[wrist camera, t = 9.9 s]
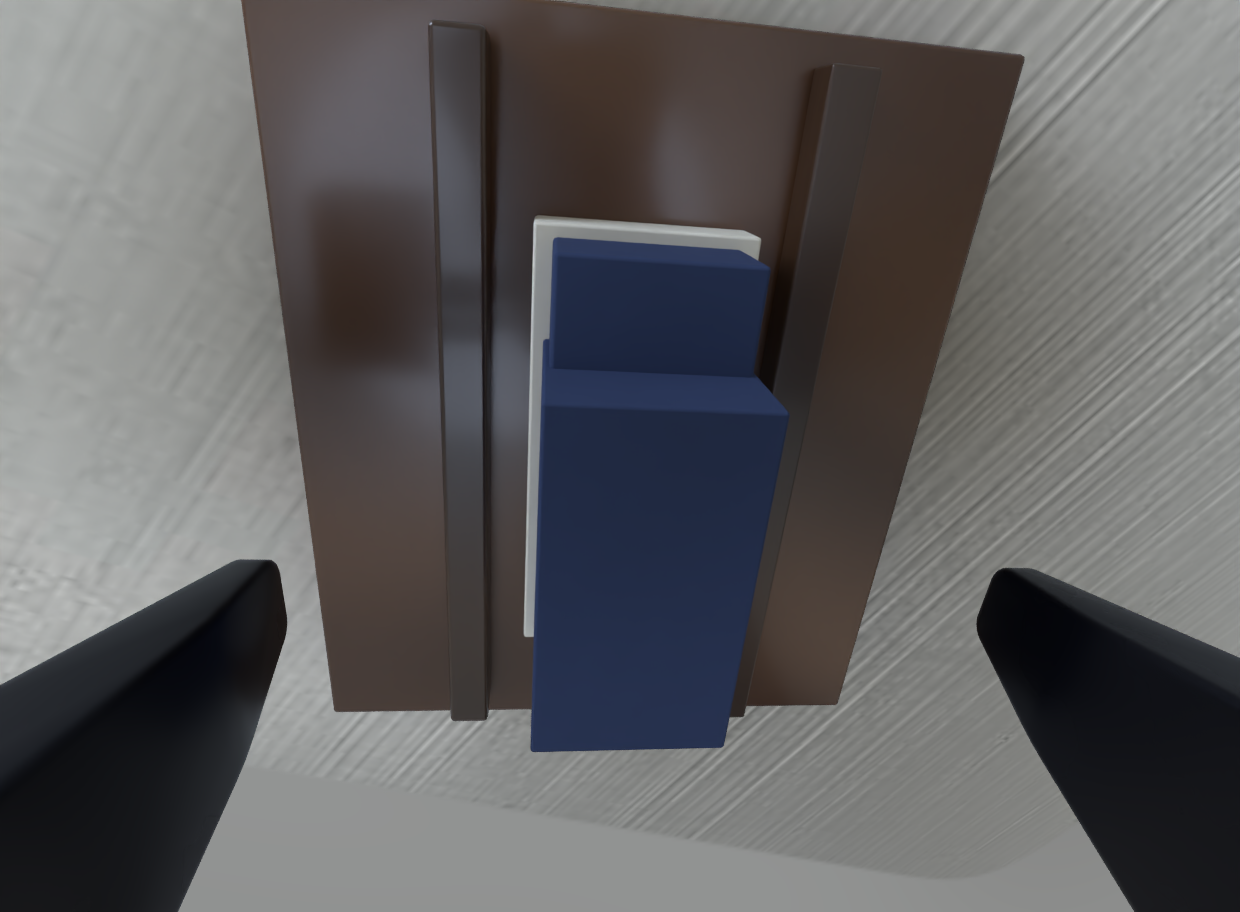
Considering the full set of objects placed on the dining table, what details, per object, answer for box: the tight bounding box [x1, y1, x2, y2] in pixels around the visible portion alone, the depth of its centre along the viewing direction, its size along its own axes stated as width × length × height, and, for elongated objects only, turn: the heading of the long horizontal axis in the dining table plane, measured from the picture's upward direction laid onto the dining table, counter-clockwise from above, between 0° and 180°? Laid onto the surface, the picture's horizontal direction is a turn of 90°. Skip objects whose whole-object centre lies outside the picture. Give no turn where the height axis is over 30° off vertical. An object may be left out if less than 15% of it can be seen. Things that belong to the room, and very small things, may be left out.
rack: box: [241, 0, 1024, 721], centre depth 13 cm, size 14×12×2 cm
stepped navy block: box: [524, 215, 790, 752], centre depth 11 cm, size 8×4×4 cm, turn 175°
